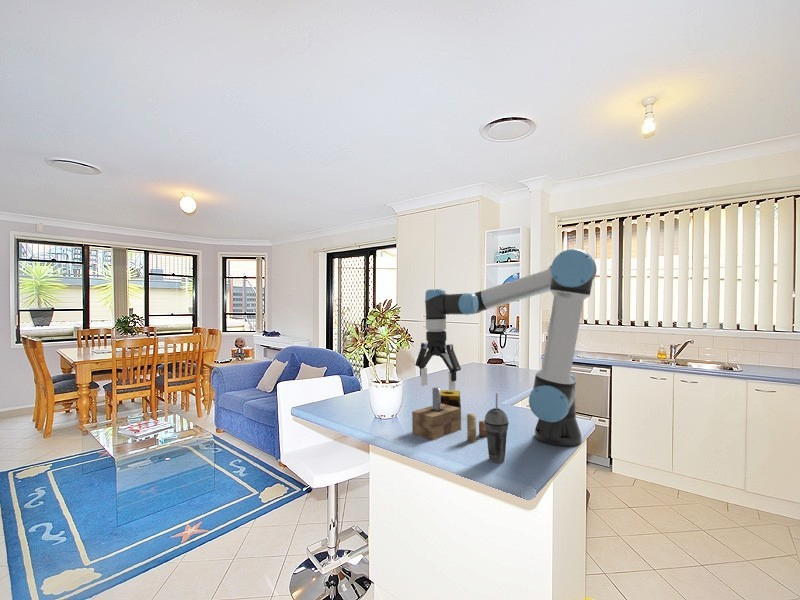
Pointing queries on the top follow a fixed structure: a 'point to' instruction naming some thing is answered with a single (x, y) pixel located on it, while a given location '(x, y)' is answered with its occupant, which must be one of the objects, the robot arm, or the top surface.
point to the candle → (450, 398)
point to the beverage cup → (496, 433)
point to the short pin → (482, 429)
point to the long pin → (436, 399)
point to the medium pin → (471, 427)
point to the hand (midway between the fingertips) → (437, 387)
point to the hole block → (436, 421)
